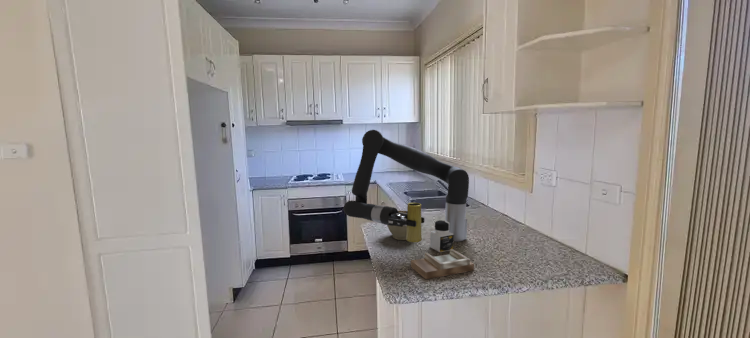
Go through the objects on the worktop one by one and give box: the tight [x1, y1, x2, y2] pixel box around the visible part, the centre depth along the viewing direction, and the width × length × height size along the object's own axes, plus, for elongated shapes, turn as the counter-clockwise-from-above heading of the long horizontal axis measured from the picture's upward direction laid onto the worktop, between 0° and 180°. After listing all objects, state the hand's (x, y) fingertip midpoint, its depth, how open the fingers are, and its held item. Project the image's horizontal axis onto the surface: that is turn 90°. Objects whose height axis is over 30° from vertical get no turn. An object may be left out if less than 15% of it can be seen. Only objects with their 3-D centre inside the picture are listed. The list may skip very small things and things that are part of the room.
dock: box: [410, 248, 475, 280], centre depth 123 cm, size 20×11×4 cm, turn 112°
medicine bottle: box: [429, 219, 454, 253], centre depth 143 cm, size 7×7×12 cm
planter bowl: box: [386, 210, 407, 241], centre depth 157 cm, size 16×16×11 cm
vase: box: [405, 202, 423, 243], centre depth 130 cm, size 6×6×14 cm
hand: (419, 222), depth 129 cm, fingers closed on vase, 5 cm apart
